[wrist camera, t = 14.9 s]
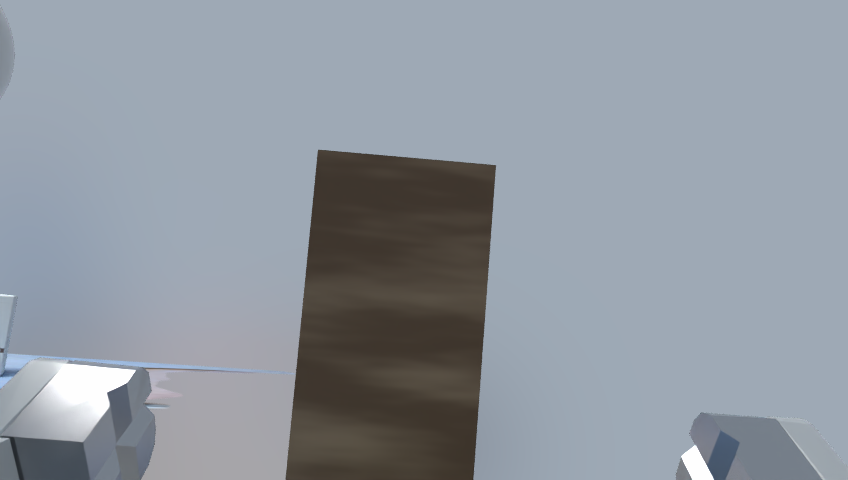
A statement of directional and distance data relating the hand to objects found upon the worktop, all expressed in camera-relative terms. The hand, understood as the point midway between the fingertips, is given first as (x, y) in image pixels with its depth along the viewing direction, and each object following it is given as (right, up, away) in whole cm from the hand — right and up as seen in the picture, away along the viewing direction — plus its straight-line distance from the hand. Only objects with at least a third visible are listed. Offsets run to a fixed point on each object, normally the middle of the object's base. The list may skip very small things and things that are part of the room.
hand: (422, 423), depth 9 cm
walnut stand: (-4, -22, +35) cm, 42 cm away
